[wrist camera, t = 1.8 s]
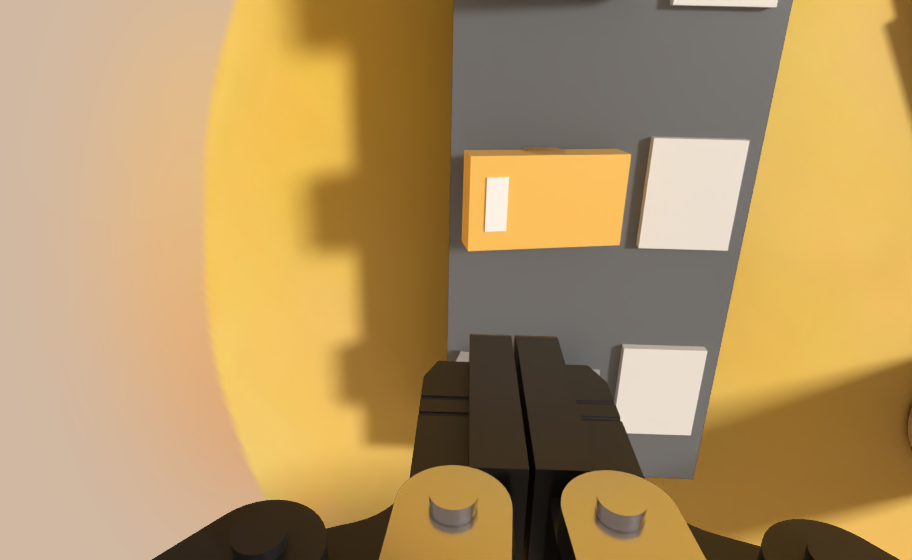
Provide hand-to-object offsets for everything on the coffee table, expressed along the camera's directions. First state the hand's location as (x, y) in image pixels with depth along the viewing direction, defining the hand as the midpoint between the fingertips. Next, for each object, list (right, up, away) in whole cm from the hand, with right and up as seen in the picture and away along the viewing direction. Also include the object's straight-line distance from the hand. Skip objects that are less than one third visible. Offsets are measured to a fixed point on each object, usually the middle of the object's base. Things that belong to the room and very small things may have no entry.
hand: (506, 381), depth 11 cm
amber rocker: (+2, +5, +13) cm, 14 cm away
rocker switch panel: (+5, +7, +17) cm, 19 cm away
